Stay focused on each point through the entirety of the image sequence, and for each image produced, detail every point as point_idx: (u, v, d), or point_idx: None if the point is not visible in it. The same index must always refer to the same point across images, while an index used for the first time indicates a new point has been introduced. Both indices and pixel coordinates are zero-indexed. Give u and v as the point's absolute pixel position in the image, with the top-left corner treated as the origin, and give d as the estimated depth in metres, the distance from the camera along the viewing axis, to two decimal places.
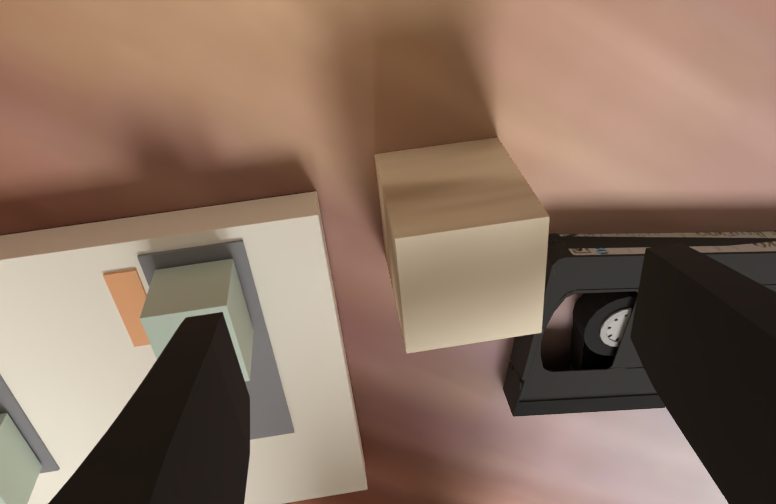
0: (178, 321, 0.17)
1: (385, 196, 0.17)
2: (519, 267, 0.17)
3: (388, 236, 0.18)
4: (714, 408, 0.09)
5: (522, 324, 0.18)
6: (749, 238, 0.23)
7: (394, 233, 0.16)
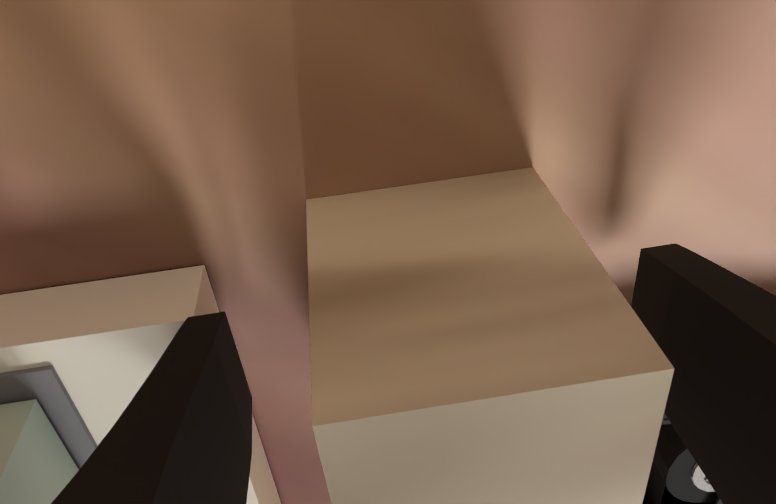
0: None
1: (310, 298, 0.08)
2: (594, 463, 0.08)
3: None
4: (708, 409, 0.09)
5: None
6: None
7: (313, 407, 0.07)
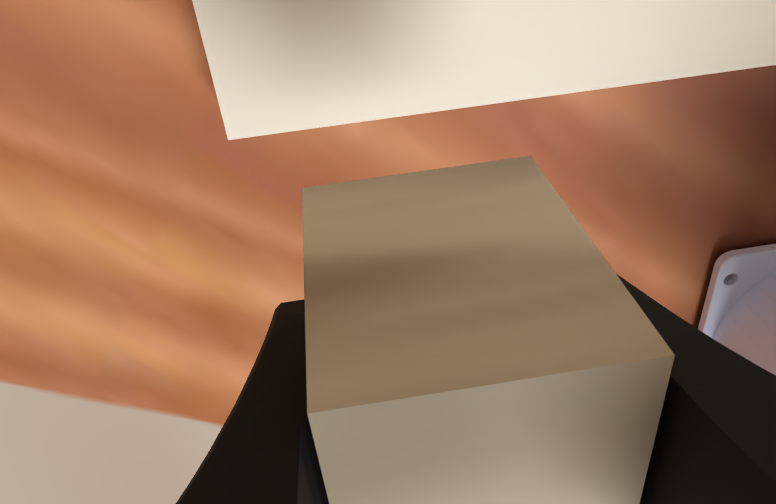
0: None
1: (306, 286, 0.08)
2: (594, 453, 0.08)
3: None
4: None
5: None
6: None
7: (308, 395, 0.07)
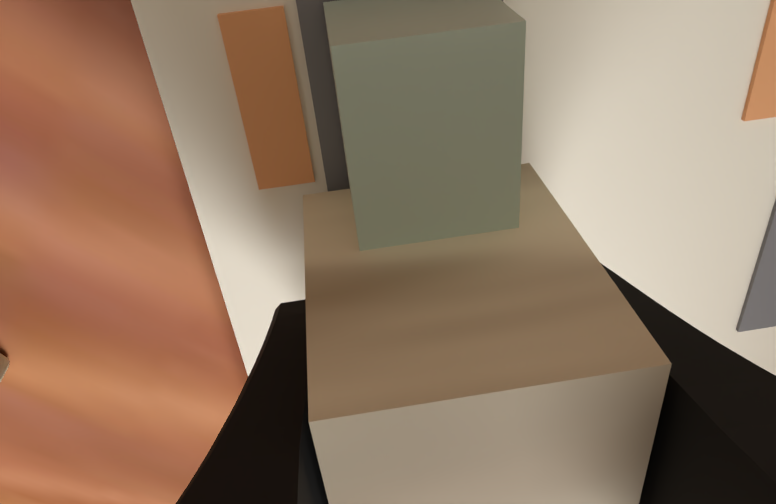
0: None
1: (307, 294, 0.08)
2: (592, 459, 0.08)
3: None
4: None
5: None
6: None
7: (309, 403, 0.07)
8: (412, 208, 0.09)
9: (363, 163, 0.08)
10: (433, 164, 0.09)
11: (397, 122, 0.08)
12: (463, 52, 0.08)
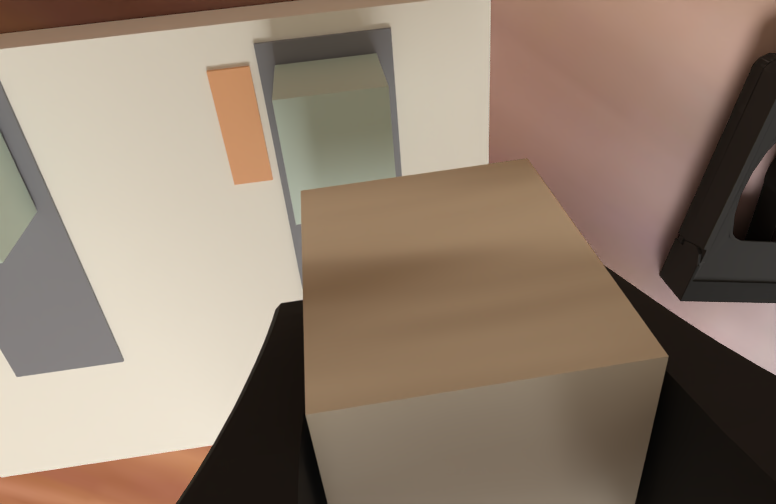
0: (321, 109, 0.13)
1: (304, 289, 0.08)
2: (588, 452, 0.08)
3: None
4: None
5: None
6: None
7: (307, 396, 0.07)
8: None
9: None
10: None
11: None
12: None
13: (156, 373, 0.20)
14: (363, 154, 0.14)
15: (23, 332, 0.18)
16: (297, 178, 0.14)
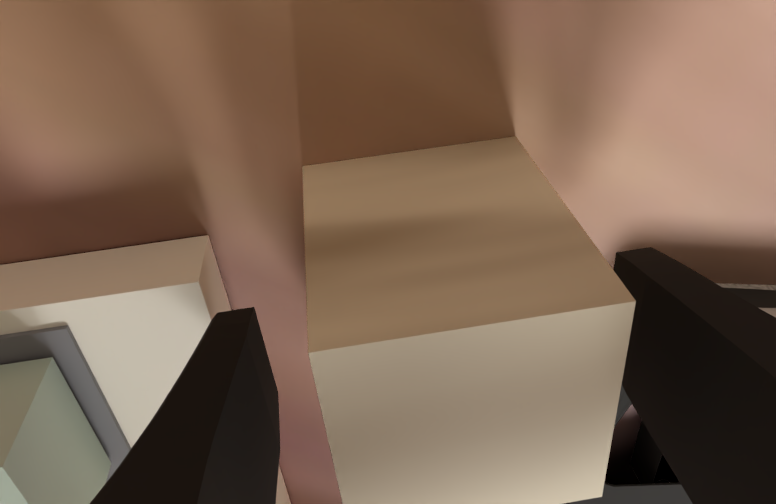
0: None
1: (306, 249, 0.09)
2: (566, 395, 0.08)
3: None
4: (681, 414, 0.09)
5: (567, 485, 0.10)
6: None
7: (309, 338, 0.08)
8: None
9: None
10: None
11: None
12: None
13: None
14: None
15: None
16: None
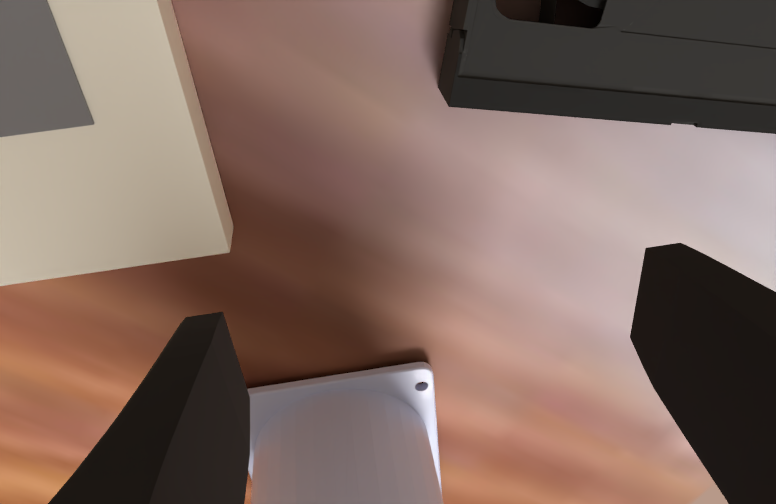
0: None
1: None
2: None
3: None
4: (714, 408, 0.09)
5: None
6: None
7: None
8: None
9: None
10: None
11: None
12: None
13: None
14: None
15: None
16: None
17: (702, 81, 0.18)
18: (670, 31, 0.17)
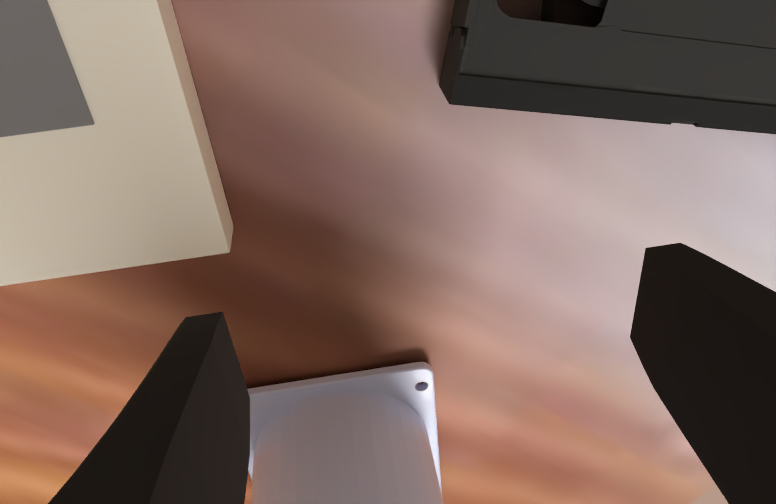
0: None
1: None
2: None
3: None
4: (714, 408, 0.09)
5: None
6: None
7: None
8: None
9: None
10: None
11: None
12: None
13: None
14: None
15: None
16: None
17: (703, 80, 0.18)
18: (671, 30, 0.17)
